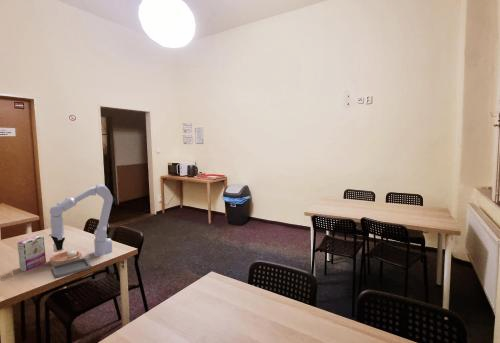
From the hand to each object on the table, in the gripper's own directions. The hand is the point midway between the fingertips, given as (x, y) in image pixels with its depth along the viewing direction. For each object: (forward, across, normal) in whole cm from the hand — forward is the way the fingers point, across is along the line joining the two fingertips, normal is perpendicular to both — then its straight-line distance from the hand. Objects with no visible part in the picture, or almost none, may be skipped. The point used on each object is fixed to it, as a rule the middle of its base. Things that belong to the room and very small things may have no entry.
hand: (58, 248), depth 153 cm
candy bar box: (+8, -2, -12) cm, 15 cm away
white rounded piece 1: (+1, 0, 0) cm, 1 cm away
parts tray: (+8, +16, +3) cm, 18 cm away
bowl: (+8, 0, +3) cm, 9 cm away
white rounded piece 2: (+8, 0, +6) cm, 10 cm away
